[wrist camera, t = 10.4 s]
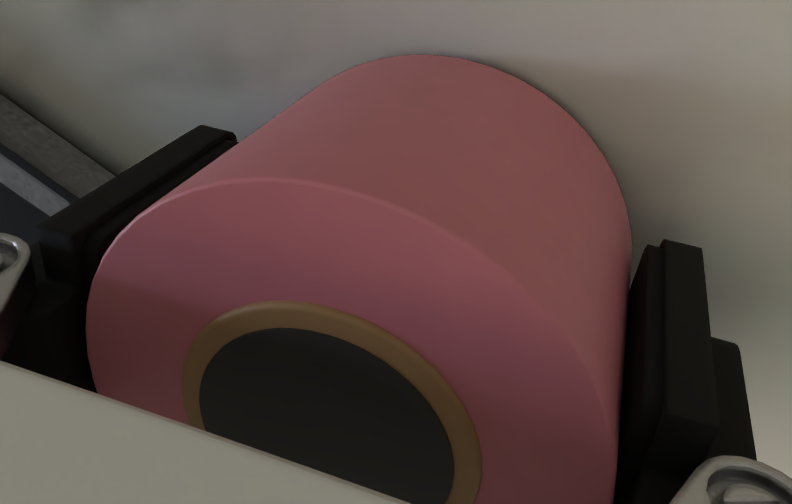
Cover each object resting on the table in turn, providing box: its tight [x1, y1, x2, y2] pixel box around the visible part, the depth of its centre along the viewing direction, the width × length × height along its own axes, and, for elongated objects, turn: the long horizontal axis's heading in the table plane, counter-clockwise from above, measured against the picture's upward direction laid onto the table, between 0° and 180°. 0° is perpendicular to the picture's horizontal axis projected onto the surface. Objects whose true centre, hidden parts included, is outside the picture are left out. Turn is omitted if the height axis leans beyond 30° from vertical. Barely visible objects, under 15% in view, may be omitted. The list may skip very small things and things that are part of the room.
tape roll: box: [85, 55, 632, 504], centre depth 10 cm, size 7×7×5 cm
